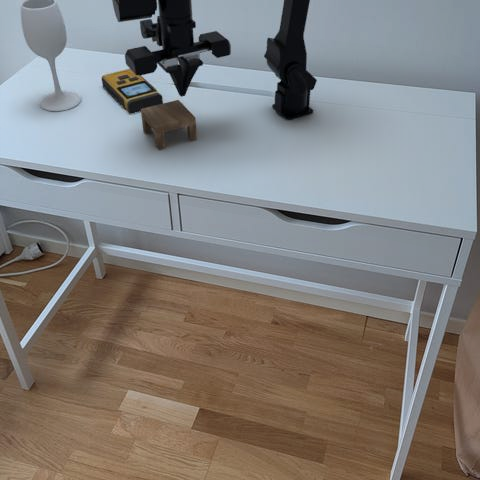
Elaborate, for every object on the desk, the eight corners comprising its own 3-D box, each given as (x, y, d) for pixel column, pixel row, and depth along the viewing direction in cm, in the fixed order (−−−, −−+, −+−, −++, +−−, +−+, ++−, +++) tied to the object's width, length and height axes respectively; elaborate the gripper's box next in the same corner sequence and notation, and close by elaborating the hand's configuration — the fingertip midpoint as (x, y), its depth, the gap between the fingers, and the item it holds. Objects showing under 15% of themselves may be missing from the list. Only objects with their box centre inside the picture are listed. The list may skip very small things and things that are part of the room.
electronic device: (135, 79, 136) (133, 65, 134) (165, 106, 126) (163, 92, 124) (100, 87, 133) (98, 73, 131) (128, 116, 123) (126, 101, 121)
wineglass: (87, 94, 129) (69, -3, 115) (69, 113, 123) (47, 12, 109) (52, 90, 131) (29, -7, 117) (32, 109, 125) (6, 8, 111)
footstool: (178, 99, 117) (140, 109, 114) (195, 117, 112) (156, 127, 109) (180, 121, 120) (143, 131, 118) (196, 139, 115) (158, 150, 112)
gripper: (204, -10, 111) (207, 69, 121) (109, 7, 104) (121, 89, 114) (231, 9, 103) (232, 91, 114) (131, 29, 97) (141, 114, 107)
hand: (181, 95), depth 112 cm, fingers closed
